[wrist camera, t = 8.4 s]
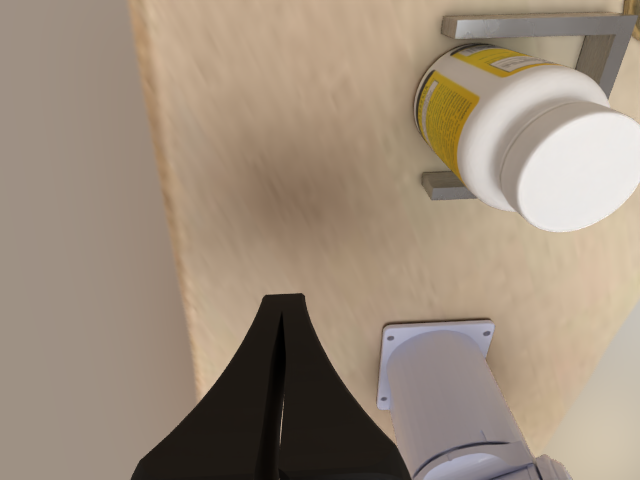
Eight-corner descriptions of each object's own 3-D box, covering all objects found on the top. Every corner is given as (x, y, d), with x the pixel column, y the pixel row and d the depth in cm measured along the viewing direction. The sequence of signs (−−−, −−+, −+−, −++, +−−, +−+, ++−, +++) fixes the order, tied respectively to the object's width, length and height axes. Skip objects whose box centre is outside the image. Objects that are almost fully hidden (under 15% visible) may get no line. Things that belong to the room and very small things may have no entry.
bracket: (553, 178, 23) (574, 194, 22) (421, 184, 23) (431, 200, 21) (607, 11, 19) (638, 15, 17) (443, 16, 18) (457, 20, 17)
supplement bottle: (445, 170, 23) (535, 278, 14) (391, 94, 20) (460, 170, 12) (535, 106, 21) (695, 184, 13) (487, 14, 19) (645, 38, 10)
